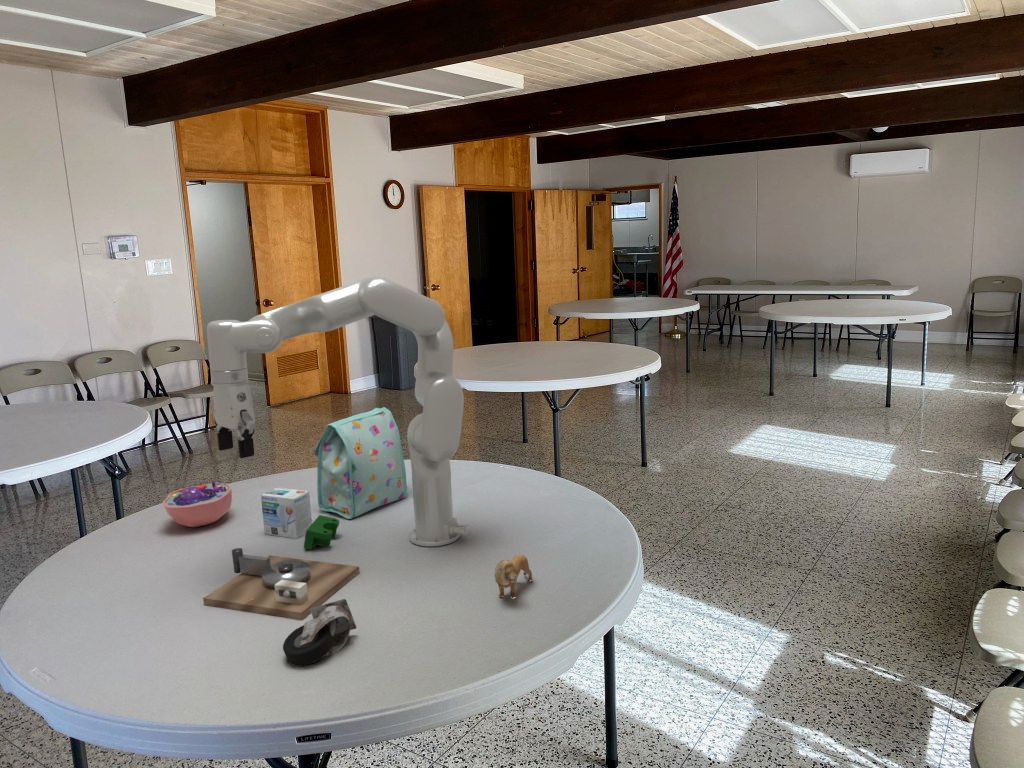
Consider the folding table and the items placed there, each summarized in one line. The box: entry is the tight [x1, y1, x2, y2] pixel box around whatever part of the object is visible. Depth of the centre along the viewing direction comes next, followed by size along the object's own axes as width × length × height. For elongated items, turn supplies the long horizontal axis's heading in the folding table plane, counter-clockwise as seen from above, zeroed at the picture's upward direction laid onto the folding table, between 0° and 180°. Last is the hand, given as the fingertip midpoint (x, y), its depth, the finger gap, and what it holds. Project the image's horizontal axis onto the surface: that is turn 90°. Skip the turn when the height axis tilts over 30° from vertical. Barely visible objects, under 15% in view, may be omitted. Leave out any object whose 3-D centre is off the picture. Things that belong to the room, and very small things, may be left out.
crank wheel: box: [231, 547, 311, 589], centre depth 162 cm, size 19×10×5 cm, turn 71°
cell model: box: [161, 481, 233, 528], centre depth 201 cm, size 17×20×11 cm
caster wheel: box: [282, 598, 357, 667], centre depth 134 cm, size 7×12×10 cm
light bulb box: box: [260, 487, 313, 540], centre depth 192 cm, size 11×7×11 cm, turn 68°
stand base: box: [202, 555, 360, 621], centre depth 160 cm, size 24×22×5 cm
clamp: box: [303, 514, 340, 551], centre depth 184 cm, size 11×6×8 cm, turn 171°
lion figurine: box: [494, 554, 533, 598], centre depth 155 cm, size 15×5×9 cm, turn 163°
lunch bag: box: [313, 406, 408, 520], centre depth 209 cm, size 23×16×27 cm
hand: (236, 452), depth 164 cm, fingers open, 9 cm apart
